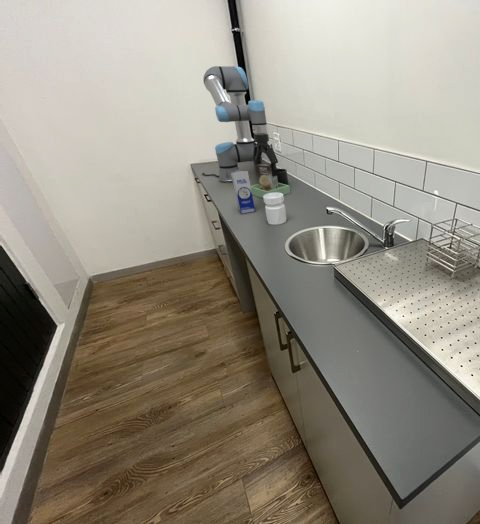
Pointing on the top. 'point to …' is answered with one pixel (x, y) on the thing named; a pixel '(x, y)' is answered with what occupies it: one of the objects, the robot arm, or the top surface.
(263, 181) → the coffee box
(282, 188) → the bin
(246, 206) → the milk carton
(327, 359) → the top surface
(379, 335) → the top surface
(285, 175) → the mug
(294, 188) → the top surface
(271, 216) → the white pill bottle
